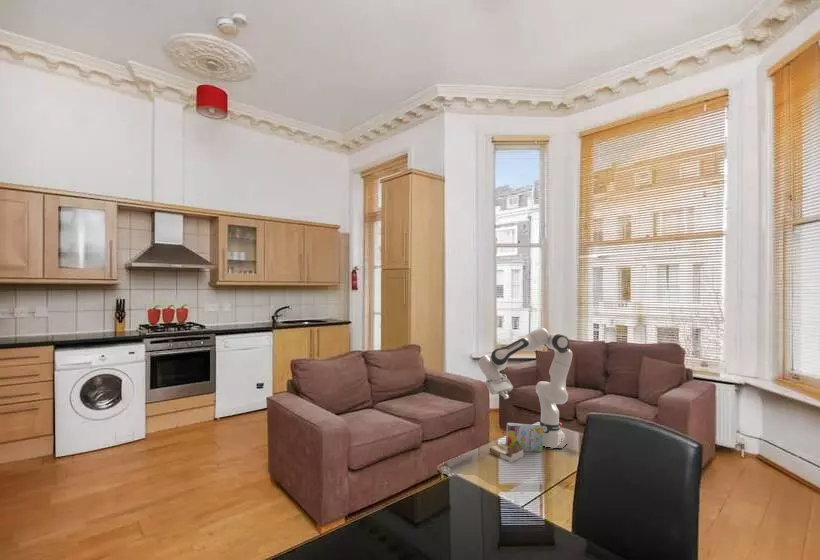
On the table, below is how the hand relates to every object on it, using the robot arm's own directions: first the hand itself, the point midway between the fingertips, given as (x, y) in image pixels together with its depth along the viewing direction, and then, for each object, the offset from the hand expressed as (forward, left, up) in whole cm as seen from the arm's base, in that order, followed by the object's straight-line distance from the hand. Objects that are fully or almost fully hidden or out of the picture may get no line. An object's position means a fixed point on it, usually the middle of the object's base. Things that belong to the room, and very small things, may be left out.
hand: (507, 398), depth 253 cm
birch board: (+6, +3, -31) cm, 32 cm away
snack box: (-11, +7, -32) cm, 34 cm away
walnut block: (+6, +8, -28) cm, 30 cm away
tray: (+6, +9, -31) cm, 33 cm away
